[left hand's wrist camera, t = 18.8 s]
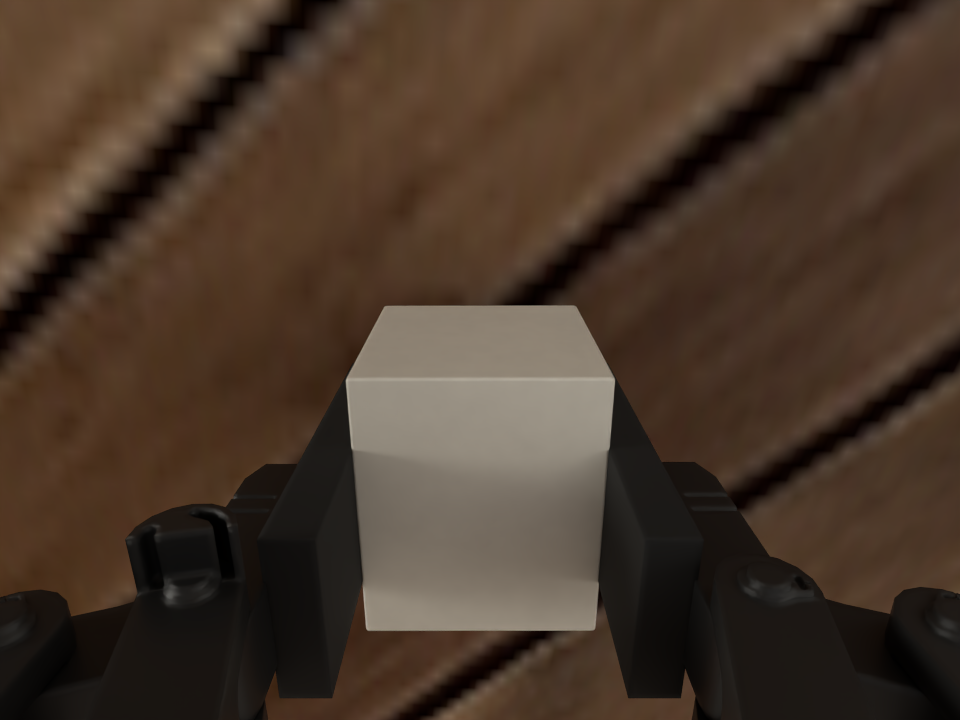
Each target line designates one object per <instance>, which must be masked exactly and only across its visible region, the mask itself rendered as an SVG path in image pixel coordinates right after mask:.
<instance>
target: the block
mask: <svg viewBox="0 0 960 720" xmlns="http://www.w3.org/2000/svg"><path fill="white" fill-rule="evenodd" d="M614 387H615V378H614V376H613V374H612V373H611V371H610V369H609V367H608V365H607V363H606V361H605V360H604V358H603V356H602V354H601V352H600V350H599V348H598V346H597V345H596V343H595V341H594V339H593V337H592V335H591V333H590V332H589V330H588V328H587V326H586V324H585V322H584V320H583V318H582V317H581V315H580V313H579V311H578V309H577V307H576V306H385V307H384V309H383V310H382V312H381V314H380V316H379V318H378V320H377V322H376V324H375V326H374V327H373V329H372V331H371V333H370V335H369V337H368V339H367V341H366V343H365V344H364V346H363V348H362V350H361V352H360V354H359V356H358V358H357V360H356V361H355V363H354V365H353V367H352V369H351V371H350V373H349V375H348V377H347V379H346V388H347V401H348V413H349V425H350V437H351V448H352V458H353V470H354V483H355V495H356V507H357V519H358V532H359V544H360V556H361V568H362V583H363V595H364V607H365V619H366V628H367V630H368V631H557V630H594V629H595V625H596V613H597V600H598V588H599V583H598V578H599V566H600V554H601V541H602V529H603V517H604V504H605V492H606V479H607V467H608V455H609V448H610V437H611V425H612V412H613V400H614Z"/></svg>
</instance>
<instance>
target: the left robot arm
mask: <svg viewBox="0 0 960 720" xmlns="http://www.w3.org/2000/svg"><path fill="white" fill-rule="evenodd" d="M353 365H354V363H353V364H352V366H351V368H350V369H349V371H348V373H347V375H346V377H345V379H344V380H343V382H342V384H341V386H340V388H339V390H338V391H337V393H336V395H335V397H334V399H333V401H332V402H331V404H330V406H329V408H328V410H327V412H326V413H325V415H324V417H323V419H322V421H321V423H320V424H319V426H318V428H317V430H316V432H315V434H314V435H313V437H312V439H311V441H310V443H309V445H308V446H307V448H306V450H305V452H304V454H303V456H302V457H301V459H300V461H299V463H298V464H266V465H264V466H263V467H261V468H260V469H258V470H257V471H256V472H254V473H253V474H251V475H250V476H248V477H247V478H245V480H244V481H243V483H242V484H241V486H240V487H239V489H238V490H237V492H236V493H235V495H234V499H231V500H230V502H229V503H228V505H227V506H226V507H222V506H218V505H215V504H191V505H186V506H181V507H176V508H172V509H169V510H167V511H164V512H162V513H159V514H157V515H154V516H152V517H150V518H149V519H147V520H146V521H144V522H143V523H141V524H140V525H138V526H137V527H135V528H134V530H133V531H132V532H131V533H130V534H129V536H128V537H127V538H126V539H125V540H126V545H127V549H128V553H129V558H130V562H131V566H132V571H133V575H134V579H135V583H136V588H137V592H138V594H137V596H136V599H135V601H134V602H132V603H128V604H125V605H121V606H118V607H113V608H109V609H104V610H99V611H95V612H90V613H86V614H81V615H76V616H72V617H71V614H70V611H69V607H68V604H67V601H66V600H65V599H64V598H63V597H62V596H61V595H60V594H58V593H56V592H51V591H45V590H33V591H24V592H18V593H14V594H10V595H8V596H3V597H0V720H268V717H267V710H266V704H265V697H266V694H267V692H268V689H269V686H270V684H271V681H272V678H273V676H274V673H275V671H276V676H277V683H278V690H279V697H280V698H332V697H333V693H334V689H335V685H336V681H337V677H338V673H339V670H340V666H341V662H342V658H343V654H344V650H345V647H346V643H347V639H348V635H349V631H350V627H351V623H352V620H353V616H354V612H355V608H356V604H357V600H358V597H359V593H360V589H361V585H362V568H361V556H360V544H359V532H358V519H357V507H356V495H355V483H354V470H353V458H352V448H351V437H350V425H349V413H348V401H347V388H346V379H347V377H348V375H349V373H350V371H351V369H352V367H353ZM607 365H608V363H607ZM608 367H609V365H608ZM609 369H610V367H609ZM610 371H611V373H612V374H613V372H612V370H611V369H610ZM613 376H614V374H613ZM614 378H615V376H614ZM598 583H599V587H600V591H601V595H602V599H603V603H604V606H605V610H606V614H607V618H608V622H609V626H610V629H611V633H612V637H613V641H614V645H615V649H616V652H617V656H618V660H619V664H620V668H621V672H622V676H623V679H624V683H625V687H626V691H627V695H628V698H681V693H682V686H683V679H684V673H685V669H686V671H687V674H688V677H689V679H690V682H691V685H692V687H693V690H694V692H695V695H696V697H695V703H694V710H693V716H692V720H960V594H958V593H957V594H956V593H954V592H950V591H946V590H943V589H934V588H925V587H918V588H912V589H907V590H903V591H902V592H901V593H900V594H899V595H898V596H896V597H895V599H894V602H893V606H892V609H891V613H890V614H887V613H883V612H878V611H873V610H869V609H864V608H860V607H855V606H850V605H846V604H842V603H838V602H835V601H831V600H828V599H825V598H824V595H823V593H822V591H821V590H820V588H819V587H818V586H817V584H816V583H815V581H814V580H813V579H812V578H811V577H809V576H808V575H807V574H805V573H804V572H803V571H801V570H800V569H799V568H798V567H796V566H793V565H791V564H789V563H787V562H785V561H782V560H780V559H778V558H774V557H770V556H769V555H768V553H767V552H766V550H765V549H764V547H763V546H762V544H761V543H760V541H759V540H758V538H757V537H756V535H755V534H754V533H753V531H752V530H751V528H750V527H749V525H748V524H747V522H746V521H745V519H744V518H743V516H742V515H741V513H740V512H739V511H737V507H736V506H735V504H734V503H733V502H732V500H731V499H730V497H727V493H726V491H725V490H724V488H723V487H722V485H721V484H720V482H719V481H718V479H717V478H716V477H715V476H714V475H712V474H711V473H710V472H708V471H707V470H705V469H704V468H702V467H701V466H699V465H698V464H697V463H695V462H661V460H660V458H659V457H658V455H657V453H656V451H655V449H654V447H653V446H652V444H651V442H650V440H649V438H648V436H647V435H646V433H645V431H644V429H643V427H642V425H641V424H640V422H639V420H638V418H637V416H636V414H635V413H634V411H633V409H632V407H631V405H630V403H629V402H628V400H627V398H626V396H625V394H624V392H623V391H622V389H621V387H620V385H619V383H618V381H617V380H616V378H615V387H614V400H613V412H612V425H611V437H610V448H609V455H608V467H607V479H606V492H605V504H604V517H603V529H602V541H601V554H600V566H599V578H598Z"/></svg>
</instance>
